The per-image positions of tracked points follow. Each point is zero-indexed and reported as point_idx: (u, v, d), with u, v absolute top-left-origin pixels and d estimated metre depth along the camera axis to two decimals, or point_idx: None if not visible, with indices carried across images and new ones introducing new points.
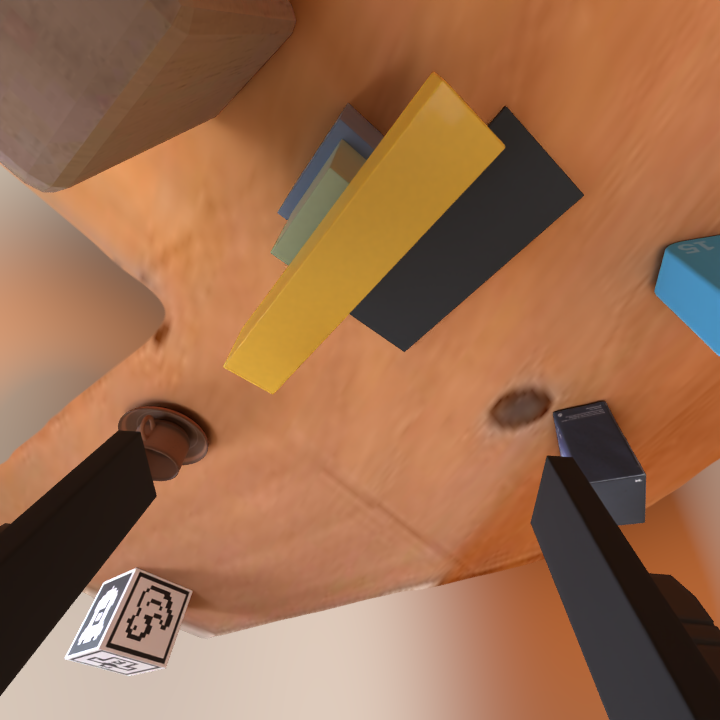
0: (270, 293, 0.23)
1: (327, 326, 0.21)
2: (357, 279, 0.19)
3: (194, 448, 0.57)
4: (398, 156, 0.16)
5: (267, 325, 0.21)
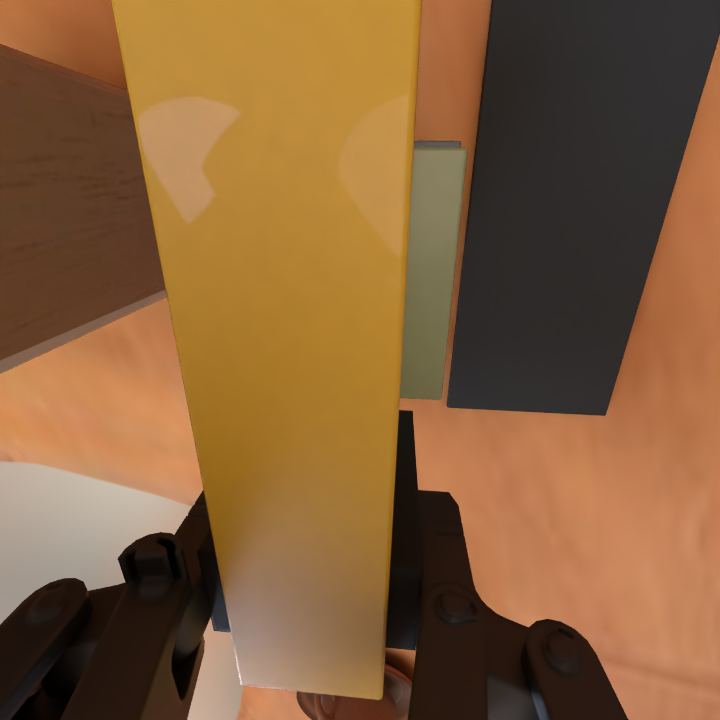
0: None
1: (369, 482, 0.07)
2: (338, 297, 0.06)
3: (404, 699, 0.39)
4: None
5: (240, 557, 0.08)
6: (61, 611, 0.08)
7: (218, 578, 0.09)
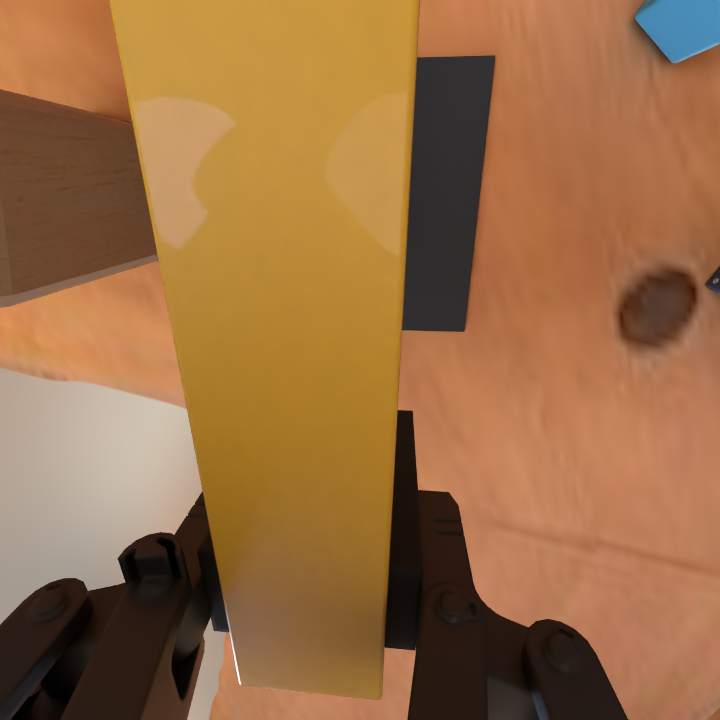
0: None
1: (368, 483, 0.07)
2: (336, 298, 0.06)
3: None
4: None
5: (239, 558, 0.08)
6: (61, 611, 0.08)
7: (218, 578, 0.09)
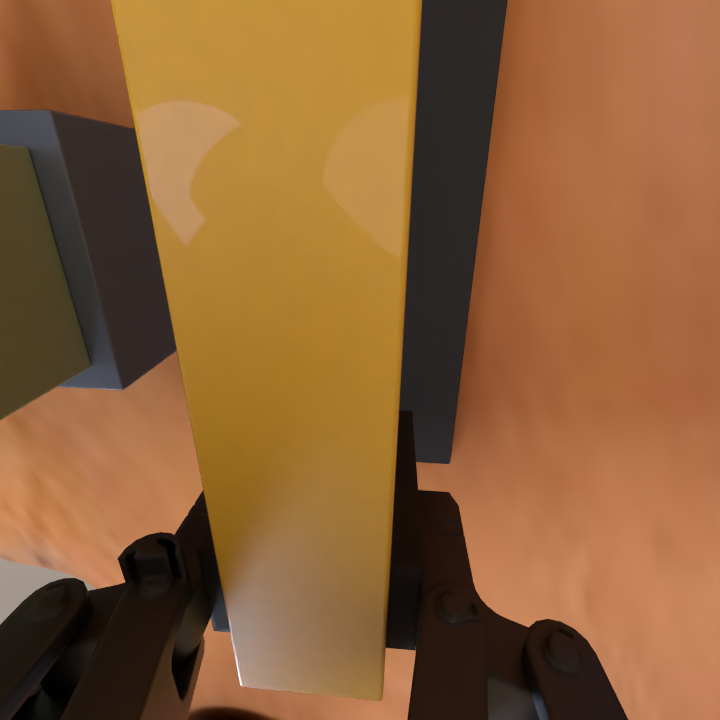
0: None
1: (369, 484, 0.07)
2: (338, 300, 0.06)
3: None
4: None
5: (240, 558, 0.08)
6: (61, 611, 0.08)
7: (218, 578, 0.09)
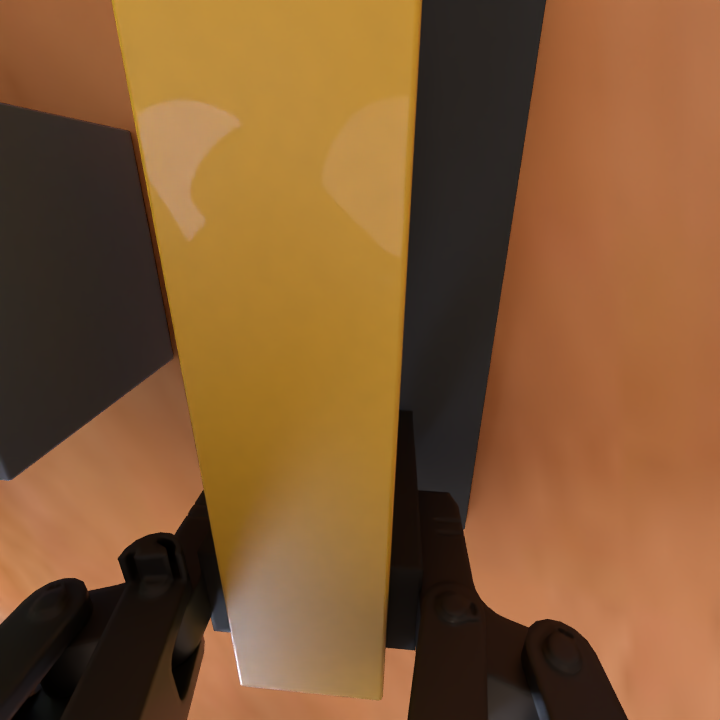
0: None
1: (369, 484, 0.07)
2: (338, 299, 0.06)
3: None
4: None
5: (240, 558, 0.08)
6: (61, 611, 0.08)
7: (218, 578, 0.09)
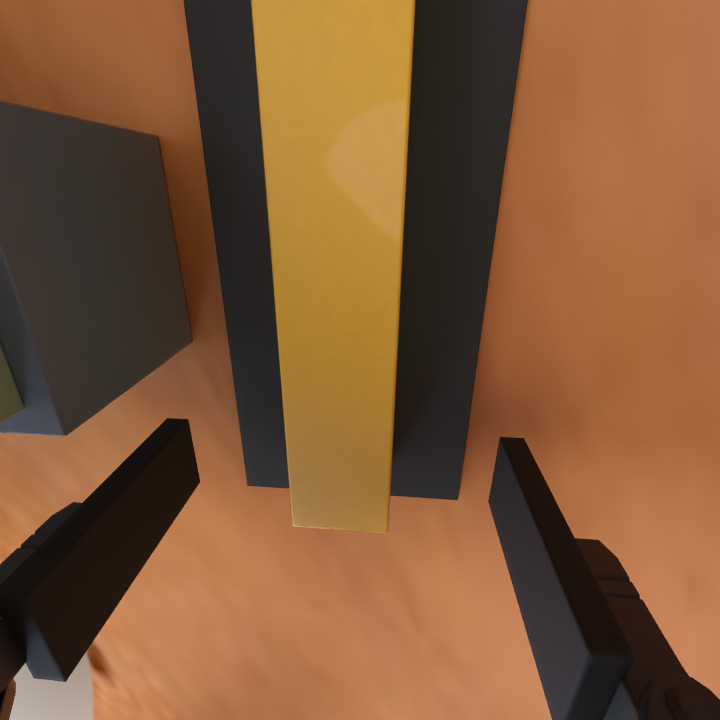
0: None
1: (381, 367, 0.12)
2: (366, 252, 0.10)
3: None
4: None
5: (300, 423, 0.13)
6: None
7: (21, 624, 0.08)
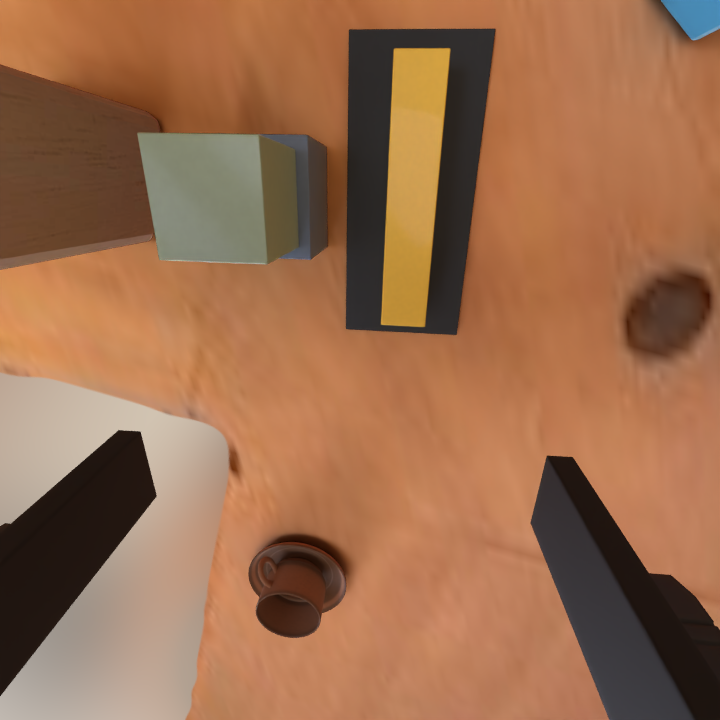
0: None
1: (426, 241, 0.29)
2: (423, 192, 0.27)
3: (334, 581, 0.49)
4: (398, 102, 0.25)
5: (390, 268, 0.30)
6: None
7: None
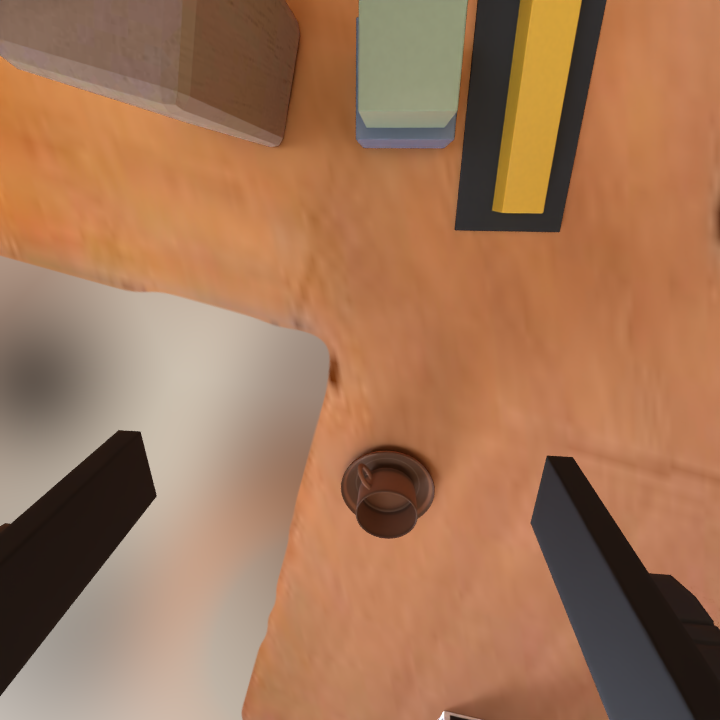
0: (501, 158, 0.35)
1: (553, 126, 0.32)
2: (555, 77, 0.30)
3: (421, 492, 0.52)
4: None
5: (516, 155, 0.33)
6: None
7: None
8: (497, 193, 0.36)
